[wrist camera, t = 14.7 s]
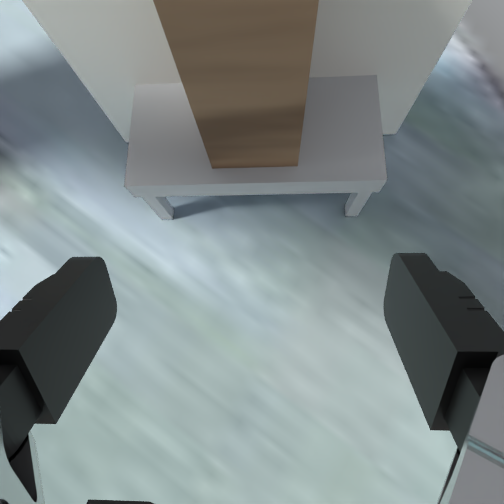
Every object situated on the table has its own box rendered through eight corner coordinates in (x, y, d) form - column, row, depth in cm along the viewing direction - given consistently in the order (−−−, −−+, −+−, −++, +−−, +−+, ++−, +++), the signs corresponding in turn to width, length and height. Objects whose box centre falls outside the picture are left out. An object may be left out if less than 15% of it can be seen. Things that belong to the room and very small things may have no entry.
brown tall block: (297, 166, 19) (328, -72, 8) (212, 168, 19) (132, -58, 8) (294, 86, 20) (318, -210, 9) (214, 90, 21) (148, -194, 10)
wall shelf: (405, 219, 24) (744, -110, 7) (117, 223, 25) (-227, -44, 8) (388, 70, 27) (591, -419, 10) (132, 81, 28) (-92, -338, 11)
